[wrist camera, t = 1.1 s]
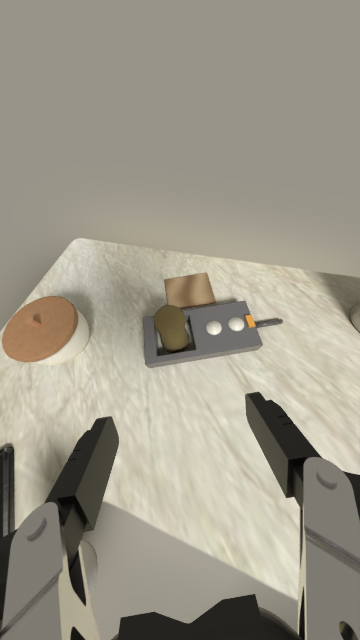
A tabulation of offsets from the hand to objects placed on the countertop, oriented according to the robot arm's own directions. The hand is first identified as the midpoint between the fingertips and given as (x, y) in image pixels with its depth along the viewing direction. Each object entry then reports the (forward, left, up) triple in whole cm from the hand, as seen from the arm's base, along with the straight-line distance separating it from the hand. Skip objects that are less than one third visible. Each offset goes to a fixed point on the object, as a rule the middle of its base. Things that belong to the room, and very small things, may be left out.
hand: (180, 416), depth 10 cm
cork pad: (-4, -25, -22) cm, 34 cm away
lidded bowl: (+24, -17, -22) cm, 37 cm away
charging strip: (-8, -13, -22) cm, 27 cm away
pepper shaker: (+1, -13, -22) cm, 26 cm away
